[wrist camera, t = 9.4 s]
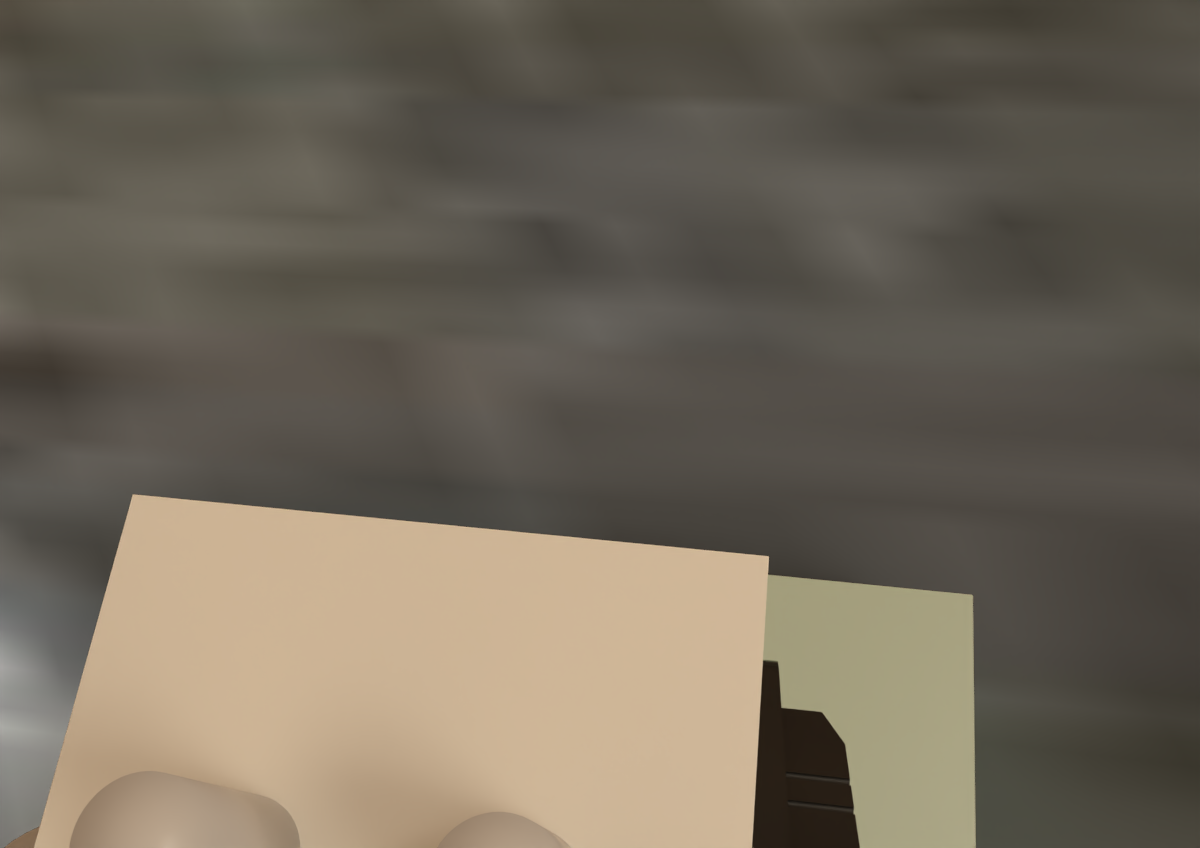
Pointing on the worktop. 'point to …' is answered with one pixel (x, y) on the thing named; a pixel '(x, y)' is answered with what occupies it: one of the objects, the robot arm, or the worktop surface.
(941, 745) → the green rectangular tray
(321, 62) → the worktop surface
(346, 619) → the block
